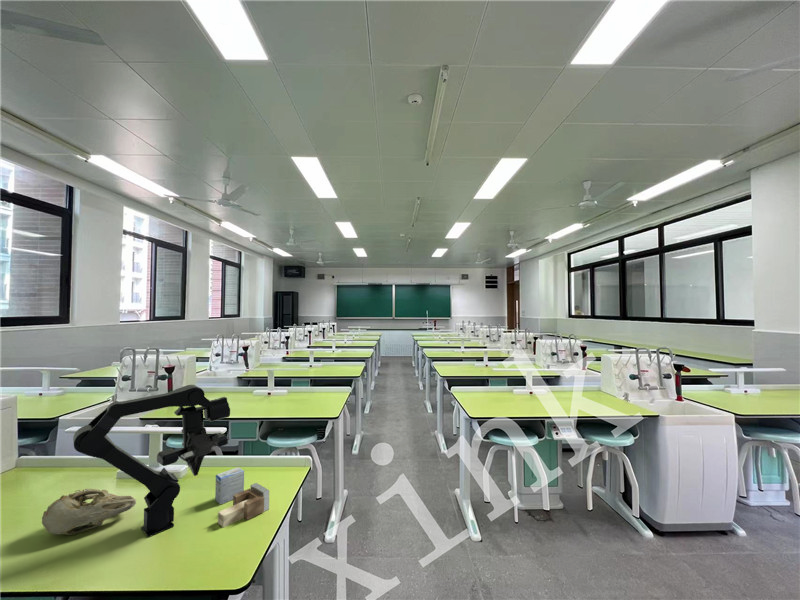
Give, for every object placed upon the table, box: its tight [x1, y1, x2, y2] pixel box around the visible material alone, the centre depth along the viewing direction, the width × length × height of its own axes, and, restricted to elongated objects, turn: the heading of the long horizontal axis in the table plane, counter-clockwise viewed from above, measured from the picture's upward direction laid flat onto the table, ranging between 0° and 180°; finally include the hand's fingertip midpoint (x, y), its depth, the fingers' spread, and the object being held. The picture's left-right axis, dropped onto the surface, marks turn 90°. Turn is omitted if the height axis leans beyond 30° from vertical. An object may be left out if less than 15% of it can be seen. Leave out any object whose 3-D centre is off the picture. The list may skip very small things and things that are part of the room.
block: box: [217, 498, 251, 528], centre depth 106 cm, size 10×4×4 cm, turn 142°
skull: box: [41, 488, 137, 536], centre depth 102 cm, size 11×20×15 cm
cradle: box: [232, 487, 265, 520], centre depth 109 cm, size 6×9×4 cm, turn 52°
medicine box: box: [214, 467, 245, 505], centre depth 118 cm, size 8×4×9 cm, turn 141°
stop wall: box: [250, 482, 270, 512], centre depth 112 cm, size 2×8×6 cm, turn 52°
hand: (195, 475), depth 108 cm, fingers closed
